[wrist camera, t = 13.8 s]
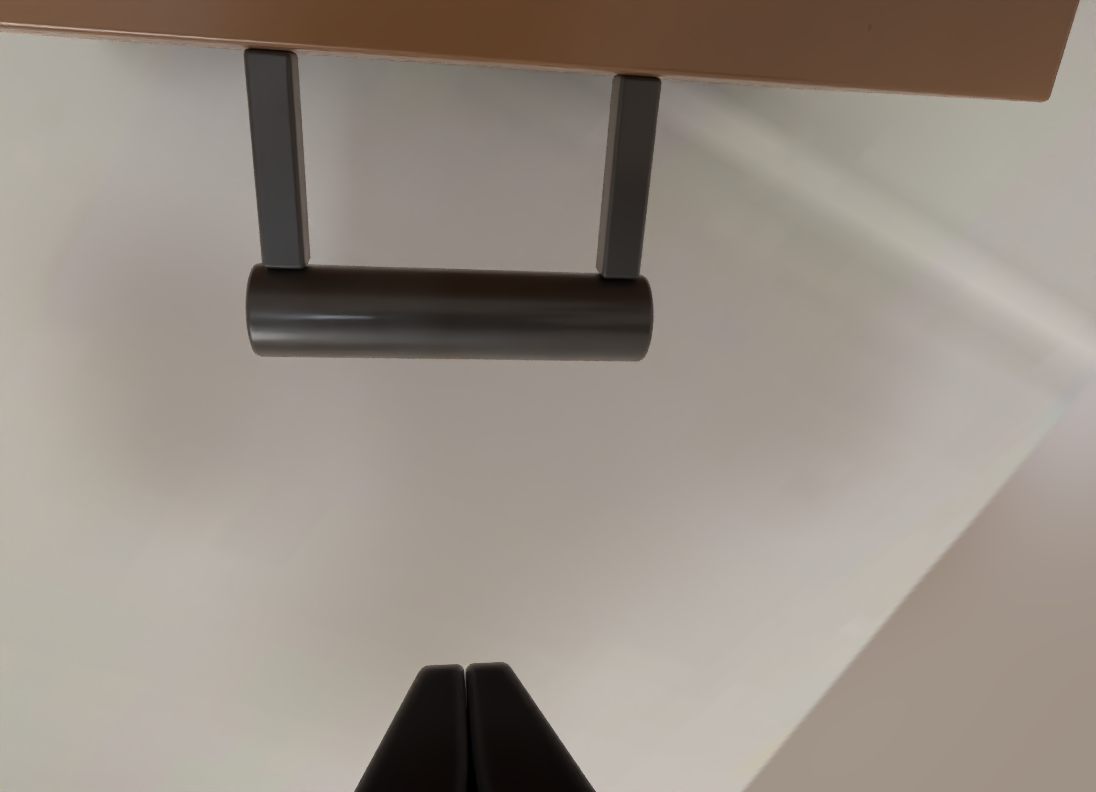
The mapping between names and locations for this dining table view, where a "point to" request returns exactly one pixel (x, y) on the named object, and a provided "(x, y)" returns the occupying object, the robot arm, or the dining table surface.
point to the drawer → (637, 66)
